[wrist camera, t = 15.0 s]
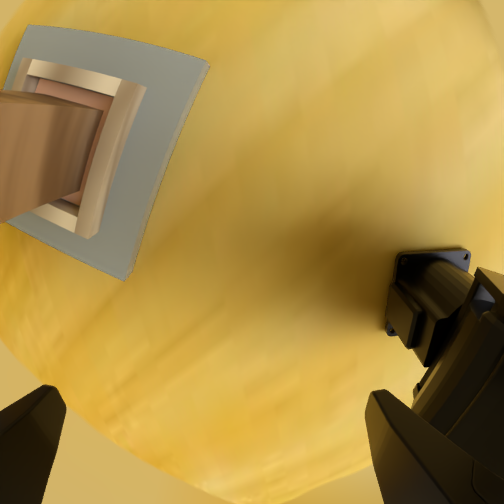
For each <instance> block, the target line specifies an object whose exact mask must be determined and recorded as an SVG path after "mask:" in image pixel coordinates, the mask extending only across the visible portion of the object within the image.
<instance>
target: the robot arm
mask: <svg viewBox="0 0 504 504" xmlns="http://www.w3.org/2000/svg"><path fill="white" fill-rule="evenodd" d="M465 254H466V255H465ZM464 255H465V257H464ZM463 257H464V258H463ZM403 258H405V261H404V262H402V263H401V260H402V259H403ZM470 258H471V253H470V252H469V251H468V250H466V249H451V250H433V251H415V252H401V253H399V254H398V255H397V256H396V259H395V268H394V275H393V282H392V283H391V285H390V288H389V295H388V302H387V308H386V314H385V316H386V318H387V321H386V326H385V331H386V333H387V335H388V336H399V338H400V339H401V341H402V342H403V344H404V346H405V347H406V348H407V349H413V351H414V352H415V354H416V355H417V357H418V359H419V360H420V362H421V363H422V365H423V366H424V367H429V368H428V370H427V371H426V373H425V375H424V376H423V378H422V379H421V381H420V382H419V383H417V384H416V386H415V388H414V389H413V397H414V400H413V404H412V407H411V409H410V408H409V407H408V406H406V405H405V404H404V403H402V402H401V401H400V400H399V399H397V398H396V397H395V396H394V395H392V394H391V393H390V392H389V391H387V390H385V389H382V390H376V391H372V392H371V393H370V395H369V399H368V402H367V406H366V410H365V421H366V426H367V432H368V438H369V444H370V450H371V456H372V461H373V466H374V470H375V473H376V477H377V480H378V484H379V487H380V491H381V494H382V498H383V501H384V504H504V275H502V274H499V273H496V272H493V271H490V270H487V269H484V268H481V267H477V269H476V272H475V274H474V276H475V278H474V277H473V276H472V275H471V274H469V273H468V269H469V263H470ZM392 328H394V329H393V330H391V329H392ZM390 330H391V331H390ZM65 414H66V404H65V402H64V401H63V399H62V397H61V395H60V393H59V391H58V390H57V388H56V387H55V386H51V385H42V386H41V387H39V388H37V389H36V390H34V391H32V392H31V393H29V394H27V395H26V396H24V397H23V398H21V399H19V400H18V401H16V402H14V403H13V404H11V405H9V406H8V407H6V408H5V409H3V410H2V411H0V504H41V503H42V499H43V496H44V492H45V489H46V485H47V482H48V478H49V475H50V472H51V468H52V465H53V462H54V459H55V456H56V453H57V449H58V445H59V440H60V436H61V431H62V427H63V423H64V419H65Z"/></svg>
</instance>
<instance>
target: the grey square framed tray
mask: <svg viewBox="0 0 504 504" xmlns="http://www.w3.org/2000/svg"><path fill="white" fill-rule="evenodd" d="M209 68H210V66H209V64H208V62H207V61H206V60H203V59H200V58H197V57H194V56H191V55H187V54H184V53H181V52H177V51H174V50H170V49H167V48H163V47H159V46H155V45H152V44H148V43H143V42H139V41H135V40H131V39H126V38H121V37H116V36H111V35H106V34H101V33H95V32H89V31H83V30H76V29H68V28H60V27H51V26H40V25H28V26H27V28H26V31H25V33H24V35H23V37H22V40H21V42H20V44H19V47H18V49H17V52H16V54H15V57H14V59H13V62H12V65H11V67H10V70H9V73H8V76H7V79H6V82H5V85H4V88H3V90H11V91H22V92H32V93H41V94H47V95H50V96H54V97H58V98H62V99H65V100H69V101H72V102H76V103H79V104H83V105H86V106H89V107H93V108H96V109H99V110H103V111H104V112H103V115H102V117H101V120H100V123H99V126H98V129H97V132H96V135H95V138H94V141H93V144H92V148H91V151H90V154H89V158H88V161H87V164H86V168H85V172H84V175H83V179H82V183H81V187H80V191H78V192H75V193H72V194H70V195H67V196H64V197H62V198H59V199H57V200H54V201H52V202H49V203H47V204H44V205H42V206H39V207H37V208H35V209H32V210H30V211H28V212H25V213H23V214H21V215H18V216H16V217H14V218H12V219H9V220H7V221H5V222H7V223H8V224H10V225H12V226H14V227H16V228H17V229H19V230H21V231H23V232H25V233H27V234H29V235H30V236H32V237H34V238H36V239H38V240H40V241H42V242H44V243H46V244H47V245H49V246H51V247H53V248H55V249H57V250H59V251H61V252H63V253H65V254H67V255H69V256H71V257H73V258H75V259H77V260H79V261H81V262H83V263H86V264H88V265H90V266H92V267H94V268H96V269H98V270H100V271H102V272H104V273H107V274H109V275H111V276H113V277H115V278H118V279H120V280H122V281H125V280H126V279H127V278H128V277H129V275H130V274H131V273H132V271H133V268H134V264H135V261H136V257H137V254H138V251H139V247H140V244H141V241H142V238H143V234H144V231H145V228H146V225H147V222H148V219H149V216H150V213H151V210H152V207H153V204H154V201H155V198H156V195H157V192H158V190H159V187H160V184H161V181H162V179H163V176H164V173H165V170H166V168H167V165H168V163H169V160H170V157H171V155H172V152H173V150H174V147H175V145H176V142H177V140H178V137H179V135H180V132H181V130H182V128H183V125H184V123H185V120H186V118H187V116H188V113H189V111H190V109H191V107H192V104H193V102H194V100H195V98H196V95H197V93H198V91H199V89H200V87H201V85H202V82H203V80H204V78H205V76H206V74H207V72H208V70H209Z"/></svg>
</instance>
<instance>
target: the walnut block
mask: <svg viewBox="0 0 504 504" xmlns="http://www.w3.org/2000/svg"><path fill="white" fill-rule="evenodd" d="M103 112H104V111H103V110H99V109H96V108H93V107H89V106H86V105H83V104H79V103H76V102H72V101H69V100H65V99H62V98H58V97H54V96H50V95H47V94H41V93H32V92H22V91H11V90H0V224H1V223H3V222H5V221H7V220H9V219H12V218H14V217H16V216H18V215H21V214H23V213H25V212H28V211H30V210H32V209H35V208H37V207H39V206H42V205H44V204H47V203H49V202H52V201H54V200H57V199H59V198H62V197H64V196H67V195H70V194H72V193H75V192H78V191H80V187H81V183H82V179H83V175H84V172H85V168H86V164H87V161H88V158H89V154H90V151H91V148H92V144H93V141H94V138H95V135H96V132H97V129H98V126H99V123H100V120H101V117H102V115H103Z"/></svg>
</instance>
